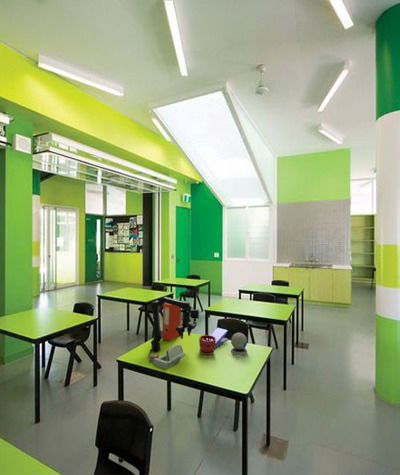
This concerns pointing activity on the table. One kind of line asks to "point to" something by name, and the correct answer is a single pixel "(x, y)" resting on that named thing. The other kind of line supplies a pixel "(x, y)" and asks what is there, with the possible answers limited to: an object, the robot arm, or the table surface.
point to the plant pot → (207, 344)
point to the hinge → (174, 352)
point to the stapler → (219, 336)
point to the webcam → (239, 344)
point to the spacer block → (153, 357)
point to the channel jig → (164, 364)
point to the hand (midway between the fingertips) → (185, 337)
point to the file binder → (171, 321)
